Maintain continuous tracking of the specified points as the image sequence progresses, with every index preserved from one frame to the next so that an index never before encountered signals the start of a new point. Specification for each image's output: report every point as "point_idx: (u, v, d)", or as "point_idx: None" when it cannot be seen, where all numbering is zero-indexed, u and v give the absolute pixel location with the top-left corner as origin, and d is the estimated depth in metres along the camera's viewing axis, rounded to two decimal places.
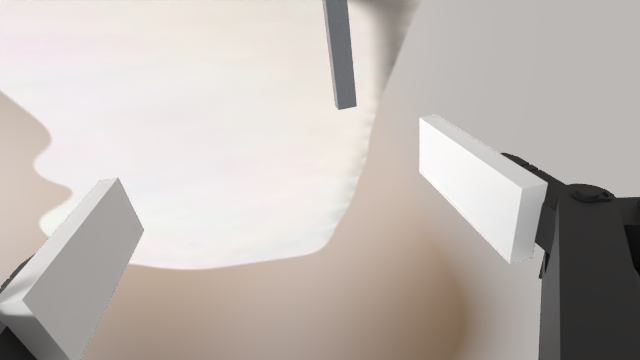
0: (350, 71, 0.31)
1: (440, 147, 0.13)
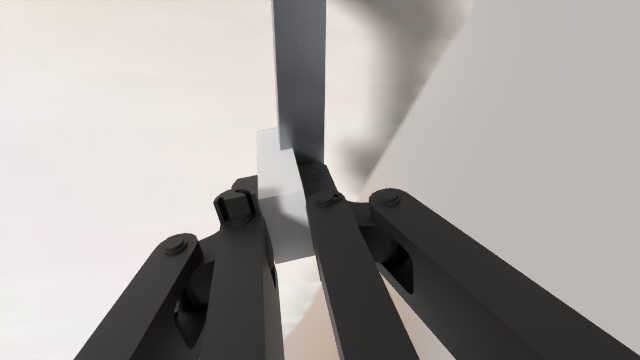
0: (317, 145, 0.14)
1: None
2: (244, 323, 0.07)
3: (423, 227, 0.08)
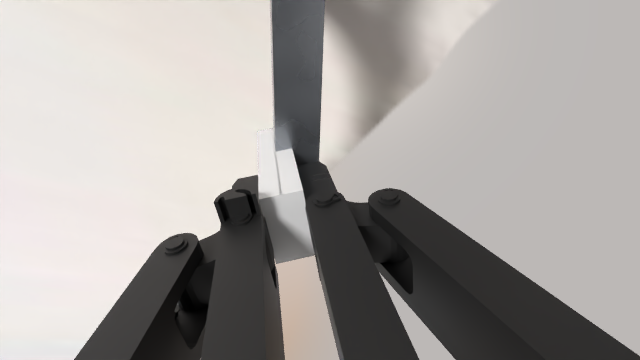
0: (312, 146, 0.14)
1: None
2: (245, 323, 0.07)
3: (422, 227, 0.08)
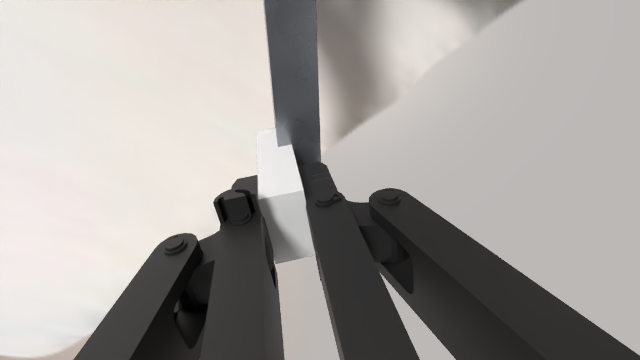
0: (313, 143, 0.14)
1: None
2: (244, 323, 0.07)
3: (423, 227, 0.08)
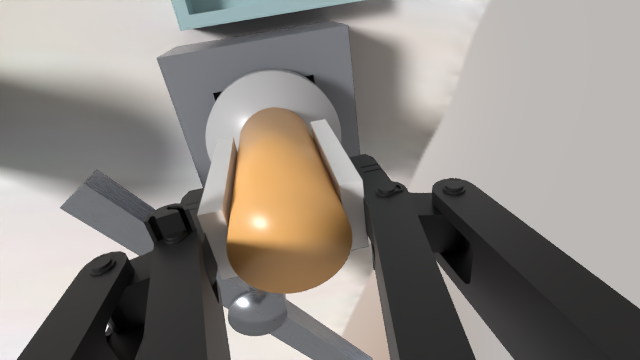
0: None
1: (318, 149, 0.15)
2: (184, 341, 0.07)
3: (487, 218, 0.08)
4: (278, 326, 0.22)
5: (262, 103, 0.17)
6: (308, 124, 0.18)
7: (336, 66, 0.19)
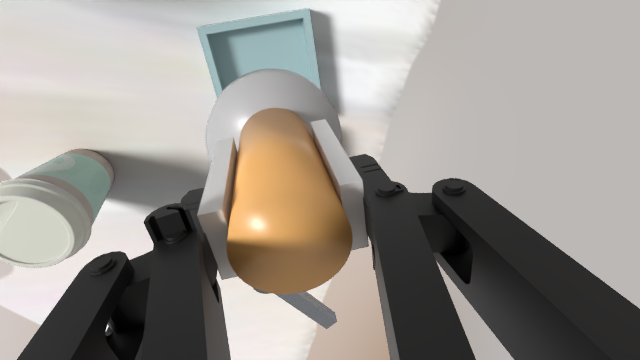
0: (319, 311, 0.43)
1: (318, 149, 0.15)
2: (184, 341, 0.07)
3: (487, 218, 0.08)
4: None
5: (262, 103, 0.17)
6: (308, 124, 0.18)
7: None
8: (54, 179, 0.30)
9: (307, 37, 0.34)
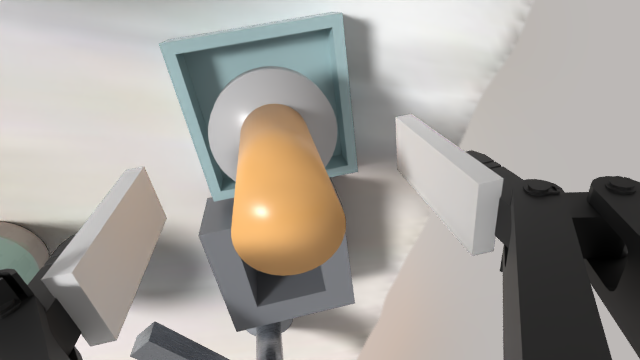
0: None
1: (413, 145, 0.14)
2: None
3: None
4: None
5: (262, 100, 0.18)
6: (306, 120, 0.19)
7: None
8: None
9: (337, 58, 0.22)
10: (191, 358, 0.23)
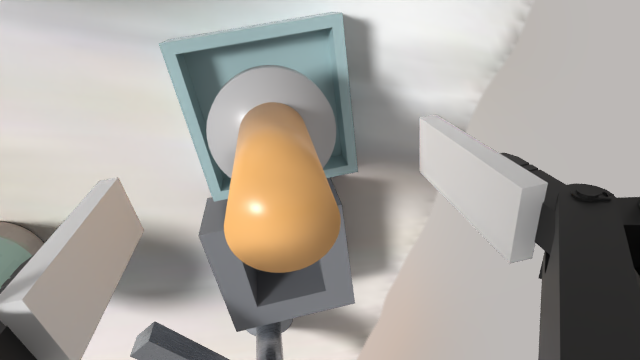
0: None
1: (440, 147, 0.13)
2: None
3: None
4: None
5: (260, 98, 0.18)
6: (304, 118, 0.19)
7: None
8: None
9: (337, 58, 0.22)
10: (191, 358, 0.23)
